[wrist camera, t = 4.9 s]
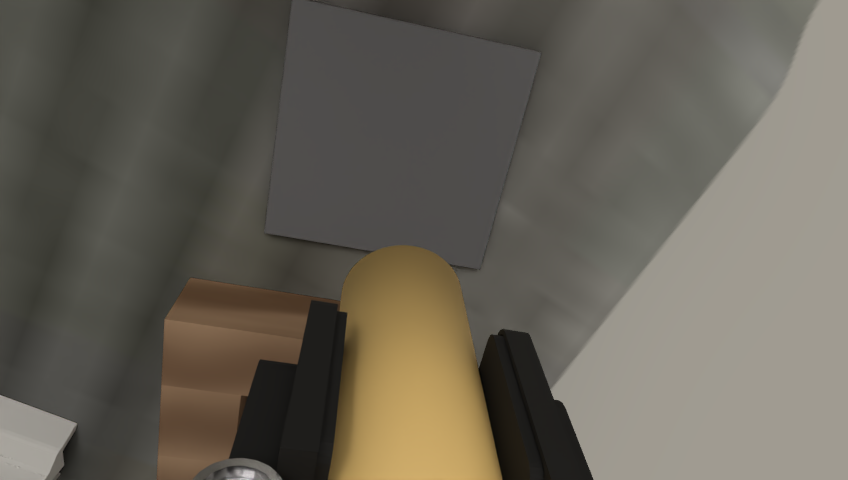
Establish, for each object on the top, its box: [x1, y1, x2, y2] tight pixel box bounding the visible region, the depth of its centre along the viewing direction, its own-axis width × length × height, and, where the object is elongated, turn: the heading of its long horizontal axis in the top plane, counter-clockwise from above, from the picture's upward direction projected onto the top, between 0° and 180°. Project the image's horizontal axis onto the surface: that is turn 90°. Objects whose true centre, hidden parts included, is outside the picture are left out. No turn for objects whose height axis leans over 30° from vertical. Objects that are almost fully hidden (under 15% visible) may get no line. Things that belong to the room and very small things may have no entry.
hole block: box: [157, 278, 341, 480], centre depth 33 cm, size 12×12×4 cm
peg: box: [328, 245, 503, 480], centre depth 11 cm, size 3×3×10 cm
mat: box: [264, 0, 541, 269], centre depth 29 cm, size 11×11×1 cm
